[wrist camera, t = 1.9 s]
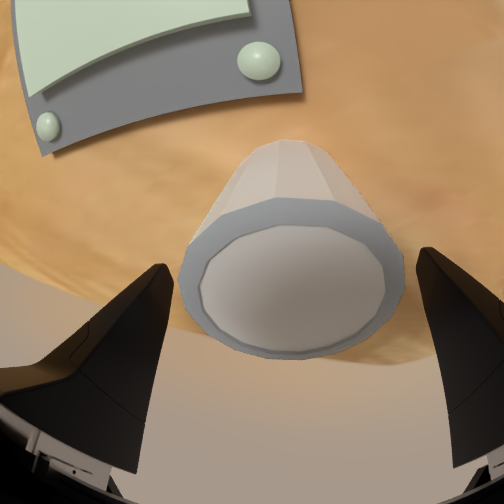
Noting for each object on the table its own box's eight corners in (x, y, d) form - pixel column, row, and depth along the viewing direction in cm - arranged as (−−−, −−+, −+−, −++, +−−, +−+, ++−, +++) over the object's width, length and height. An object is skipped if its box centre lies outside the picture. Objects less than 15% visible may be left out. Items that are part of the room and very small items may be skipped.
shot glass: (230, 111, 11) (180, 171, 6) (377, 149, 12) (448, 237, 6) (212, 236, 16) (177, 344, 10) (331, 260, 16) (348, 370, 10)
